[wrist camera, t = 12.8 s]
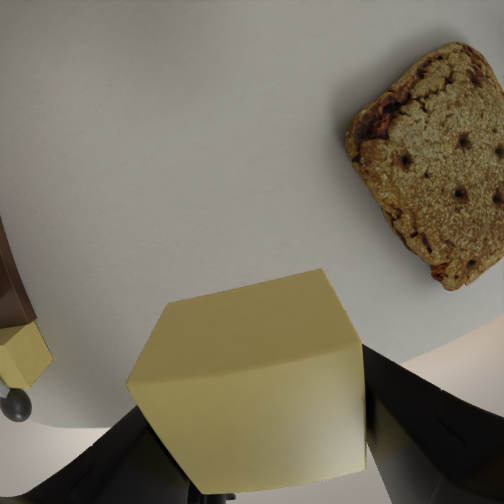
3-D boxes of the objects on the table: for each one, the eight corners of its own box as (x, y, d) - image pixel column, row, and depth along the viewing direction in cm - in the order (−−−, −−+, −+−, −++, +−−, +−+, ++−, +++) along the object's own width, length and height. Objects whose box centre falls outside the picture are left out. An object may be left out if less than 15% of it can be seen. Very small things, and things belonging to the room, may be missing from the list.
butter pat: (340, 386, 10) (367, 470, 6) (213, 410, 10) (202, 495, 6) (322, 266, 8) (362, 341, 5) (166, 301, 9) (122, 384, 5)
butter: (54, 359, 22) (29, 389, 18) (9, 361, 22) (-14, 385, 18) (33, 318, 21) (3, 345, 16) (-9, 325, 21) (-36, 348, 17)
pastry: (510, 284, 20) (531, 298, 17) (324, 276, 19) (334, 297, 16) (531, 84, 15) (554, 82, 12) (344, 9, 14) (358, -12, 11)
